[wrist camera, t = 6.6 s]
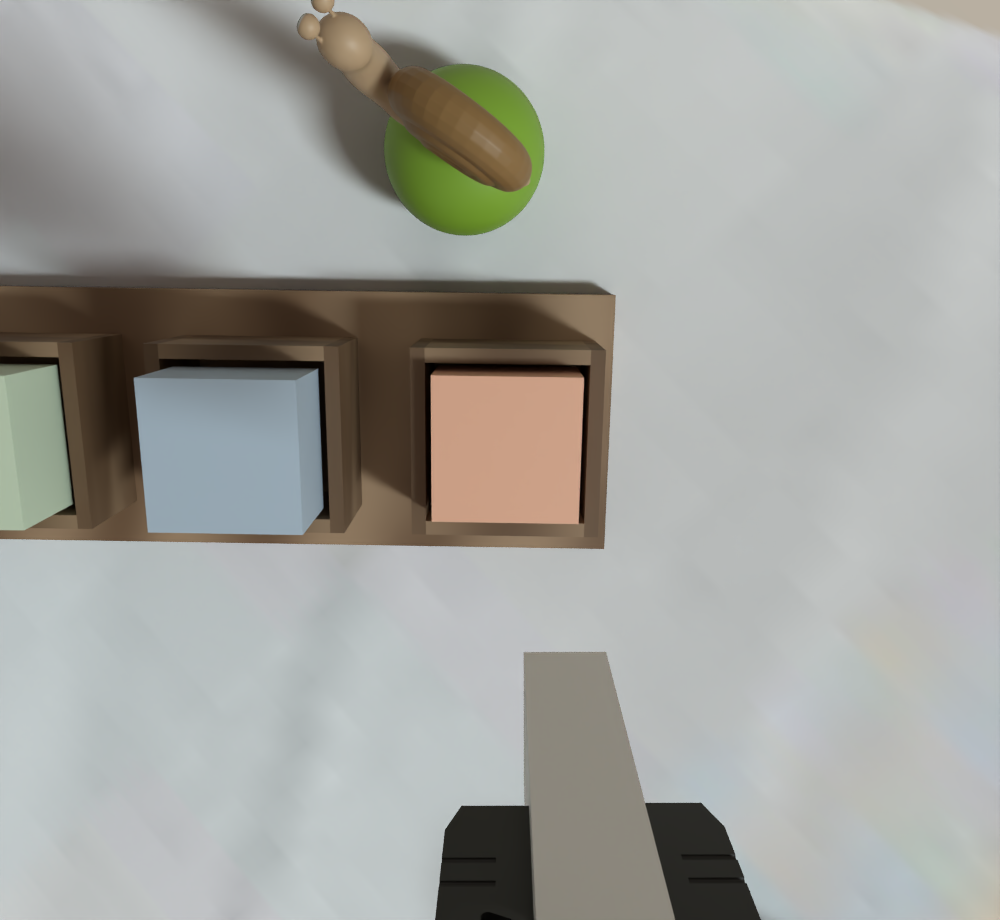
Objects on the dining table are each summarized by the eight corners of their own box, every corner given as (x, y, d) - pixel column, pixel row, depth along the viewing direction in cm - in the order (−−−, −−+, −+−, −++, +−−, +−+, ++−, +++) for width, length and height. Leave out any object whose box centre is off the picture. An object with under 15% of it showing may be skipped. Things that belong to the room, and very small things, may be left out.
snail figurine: (420, 37, 29) (362, -116, 18) (569, 138, 30) (608, 56, 18) (346, 171, 30) (244, 112, 19) (491, 265, 31) (480, 265, 19)
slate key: (184, 505, 29) (147, 532, 26) (173, 366, 28) (133, 377, 25) (323, 507, 29) (302, 534, 26) (318, 368, 28) (296, 380, 25)
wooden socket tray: (-23, 530, 34) (-105, 570, 29) (-58, 285, 31) (-153, 287, 27) (601, 540, 34) (615, 582, 29) (612, 294, 31) (629, 299, 27)
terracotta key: (438, 497, 30) (431, 521, 28) (438, 364, 29) (430, 375, 26) (571, 499, 30) (578, 524, 28) (576, 366, 29) (584, 377, 26)
